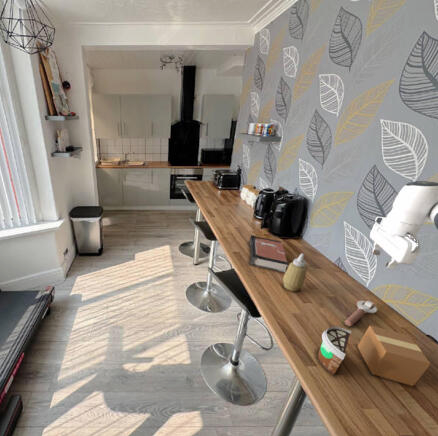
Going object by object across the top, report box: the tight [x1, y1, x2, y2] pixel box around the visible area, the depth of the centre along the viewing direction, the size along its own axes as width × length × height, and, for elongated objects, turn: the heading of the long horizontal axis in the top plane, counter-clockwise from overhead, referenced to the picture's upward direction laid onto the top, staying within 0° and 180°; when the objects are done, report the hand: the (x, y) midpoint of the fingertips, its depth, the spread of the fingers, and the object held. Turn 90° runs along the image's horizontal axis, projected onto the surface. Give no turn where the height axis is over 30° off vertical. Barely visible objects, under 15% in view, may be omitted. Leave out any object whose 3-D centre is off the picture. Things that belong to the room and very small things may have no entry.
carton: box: [357, 325, 432, 387], centre depth 73 cm, size 10×10×10 cm
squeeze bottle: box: [282, 252, 308, 292], centre depth 104 cm, size 8×8×18 cm
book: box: [248, 234, 289, 274], centre depth 131 cm, size 26×18×5 cm
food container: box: [317, 326, 352, 375], centre depth 74 cm, size 12×6×10 cm, turn 135°
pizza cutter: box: [344, 299, 378, 327], centre depth 93 cm, size 20×6×3 cm, turn 121°
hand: (382, 260), depth 86 cm, fingers open, 8 cm apart
